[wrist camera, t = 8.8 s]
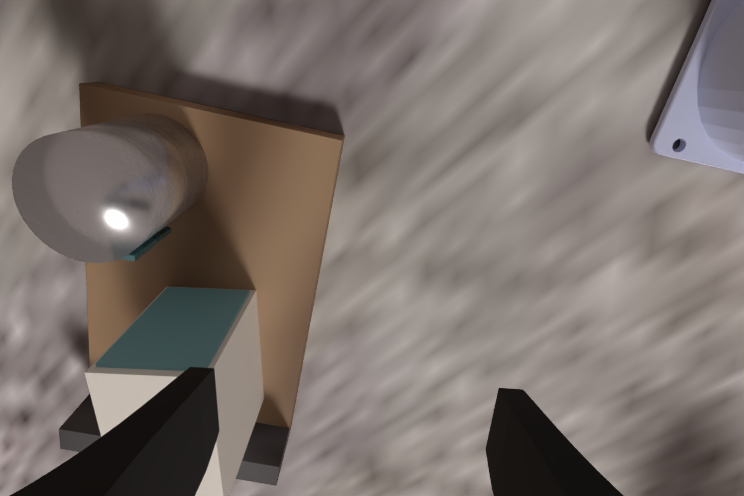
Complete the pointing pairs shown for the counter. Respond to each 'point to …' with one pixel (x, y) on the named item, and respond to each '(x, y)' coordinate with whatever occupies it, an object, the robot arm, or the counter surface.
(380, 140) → the counter surface
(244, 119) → the tan wooden panel
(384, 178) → the counter surface
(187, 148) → the tin
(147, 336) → the carton
